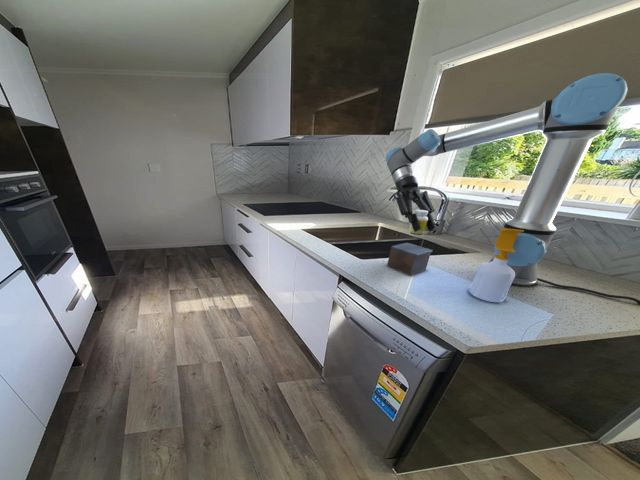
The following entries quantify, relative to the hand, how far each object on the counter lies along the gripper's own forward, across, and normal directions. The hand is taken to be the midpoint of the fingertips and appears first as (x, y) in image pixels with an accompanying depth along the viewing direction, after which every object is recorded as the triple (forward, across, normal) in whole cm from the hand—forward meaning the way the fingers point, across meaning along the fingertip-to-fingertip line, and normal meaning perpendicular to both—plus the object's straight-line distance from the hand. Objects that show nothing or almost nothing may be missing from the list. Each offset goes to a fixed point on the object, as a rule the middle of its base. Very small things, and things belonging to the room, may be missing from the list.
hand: (424, 229), depth 93 cm
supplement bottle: (0, 0, -5) cm, 5 cm away
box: (+10, -1, -18) cm, 20 cm away
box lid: (+4, -1, -11) cm, 12 cm away
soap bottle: (+27, -13, 0) cm, 30 cm away
